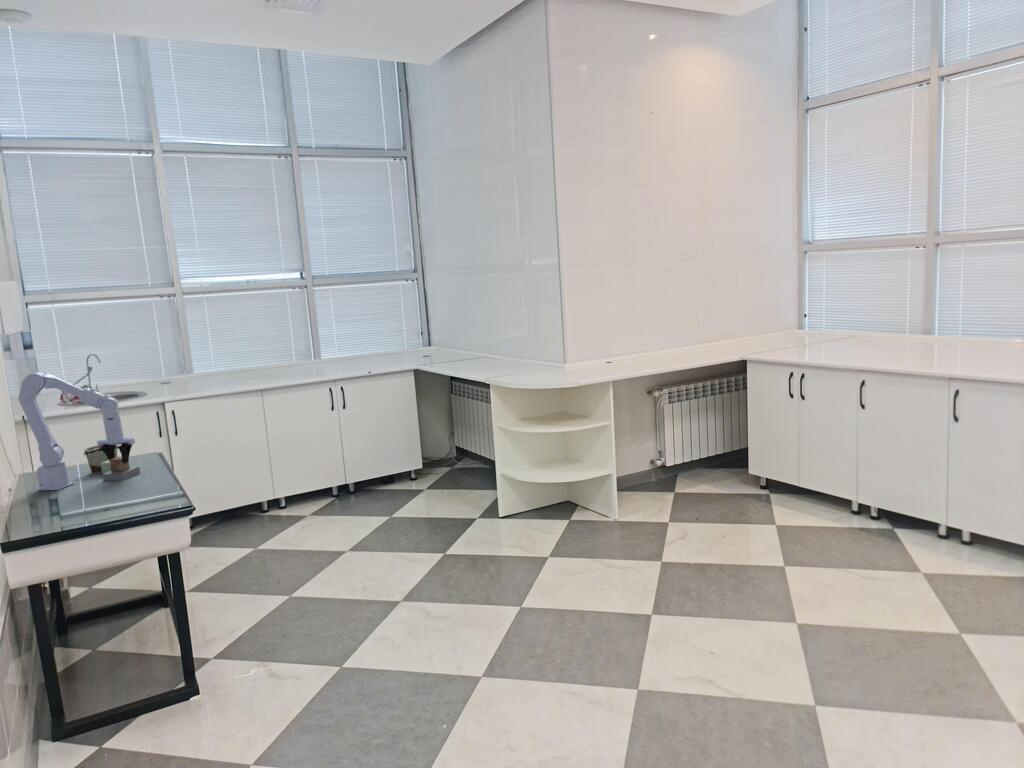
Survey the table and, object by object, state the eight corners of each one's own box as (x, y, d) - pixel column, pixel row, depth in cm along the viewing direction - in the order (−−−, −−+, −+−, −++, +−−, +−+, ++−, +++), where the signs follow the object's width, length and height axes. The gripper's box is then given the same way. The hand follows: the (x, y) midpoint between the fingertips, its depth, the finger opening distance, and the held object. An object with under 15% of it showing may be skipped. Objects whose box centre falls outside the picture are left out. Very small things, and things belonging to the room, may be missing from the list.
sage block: (102, 475, 284) (100, 463, 283) (110, 471, 288) (108, 459, 288) (112, 475, 283) (110, 462, 282) (120, 471, 287) (118, 459, 287)
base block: (103, 481, 276) (102, 474, 275) (120, 474, 284) (119, 467, 284) (124, 481, 274) (122, 473, 273) (140, 474, 283) (139, 466, 282)
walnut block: (111, 472, 277) (109, 459, 276) (119, 469, 281) (116, 456, 280) (122, 471, 276) (119, 459, 275) (129, 468, 280) (127, 456, 279)
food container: (118, 465, 298) (114, 441, 297) (122, 467, 294) (117, 443, 292) (85, 472, 291) (80, 448, 289) (88, 475, 286) (83, 450, 284)
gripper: (89, 432, 273) (95, 466, 275) (123, 430, 271) (129, 464, 273) (101, 427, 280) (108, 461, 282) (135, 425, 278) (141, 459, 280)
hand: (119, 462), depth 278 cm, fingers open, 5 cm apart
